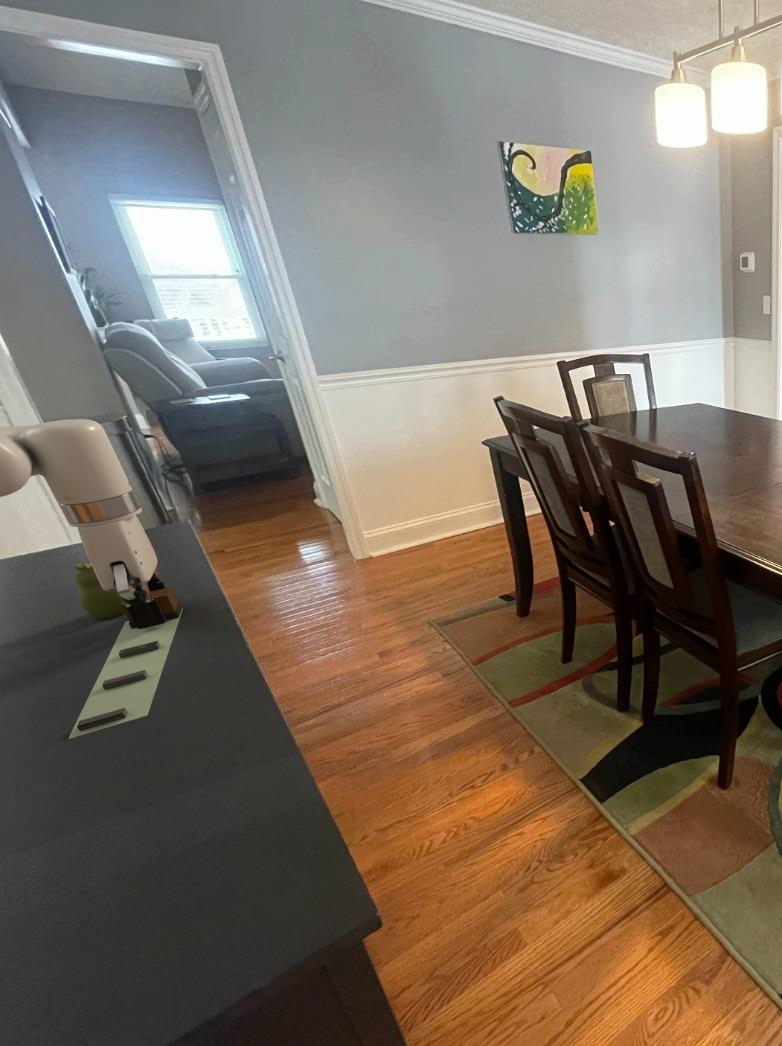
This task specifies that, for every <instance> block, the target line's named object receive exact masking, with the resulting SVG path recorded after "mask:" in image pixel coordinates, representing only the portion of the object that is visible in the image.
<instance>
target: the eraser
mask: <svg viewBox="0 0 782 1046" xmlns="http://www.w3.org/2000/svg"><path fill="white" fill-rule="evenodd" d="M142 594H143V593H142ZM150 594H151V597H152V599H156V600H157V602H158V604H159V607H160V609H161V611H162V613H163V615H164V617H165V619H166V621H167V620H171V619H176V618H179V616H180V613H181V610H182V608H183V607H182V605H181V603H179V601H178V600H177V598H176V595H175V594H174V592H173V589H172V588H171V587H166V588H165V589H160V590H156V591H151V592H150ZM121 606H122V608H123V610H124V612H125V614H124V615H125V616H126V617H127V619H128V620H127V621H129V625H130V627H131V629H134V628H137V627H136V625H135V623H134V621H133V619H132V617H131V615H130V613H129V611H128V610H127V608H126V606H125V604H124V601H123V603H122V605H121ZM182 611H183V610H182ZM181 614H182V613H181ZM180 617H181V616H180Z"/></svg>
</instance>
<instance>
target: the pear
mask: <svg viewBox="0 0 782 1046" xmlns="http://www.w3.org/2000/svg"><path fill="white" fill-rule="evenodd" d="M75 569H76V572H75V573H76V574H75V575H74V582H75V583H76V586H77V587H78V601H79V604H80V605H81V607H82V608H83V609H84V611H85V612H86V613H87V614H88V615H90V616H91V618H94V619H97V620H107V619H112V618H116V617H120V616H123V615H126V614H125V612H124V610H123V608H122V606H121V605H122V603H123V600H122V597H121V596H120V595H119V594H118V592H117V587H116V585H115V587H114V589H113V590H112V591H105V590H104V589H103V588H102V586H101V584H100V582H99V580H98V578H97V576H96V574H95V571H94V569H93V567H92V565H91V563H90V561H89V562H81V563H77V564H76V566H75Z"/></svg>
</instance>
